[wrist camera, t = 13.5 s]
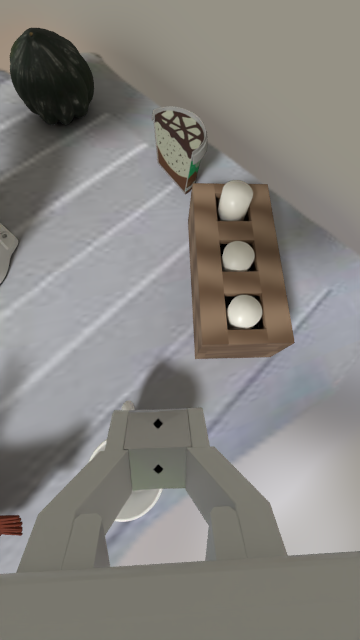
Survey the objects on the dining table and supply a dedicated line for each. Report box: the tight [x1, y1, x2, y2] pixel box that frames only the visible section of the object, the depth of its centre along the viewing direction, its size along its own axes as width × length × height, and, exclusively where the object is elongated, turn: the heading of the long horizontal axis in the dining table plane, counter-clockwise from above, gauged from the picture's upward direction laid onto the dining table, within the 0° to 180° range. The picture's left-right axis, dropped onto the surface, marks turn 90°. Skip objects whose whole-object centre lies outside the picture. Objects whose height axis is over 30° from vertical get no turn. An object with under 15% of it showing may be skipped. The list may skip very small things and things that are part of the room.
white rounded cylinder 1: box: [217, 180, 253, 221], centre depth 43 cm, size 4×4×5 cm
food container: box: [152, 107, 208, 194], centre depth 52 cm, size 12×6×10 cm, turn 36°
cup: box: [89, 401, 162, 522], centre depth 35 cm, size 8×12×10 cm
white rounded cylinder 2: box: [221, 241, 255, 272], centre depth 43 cm, size 4×4×5 cm
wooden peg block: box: [188, 183, 295, 359], centre depth 45 cm, size 26×12×9 cm, turn 2°
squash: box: [10, 28, 94, 125], centre depth 55 cm, size 14×15×15 cm
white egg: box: [226, 295, 262, 330], centre depth 40 cm, size 4×4×5 cm
